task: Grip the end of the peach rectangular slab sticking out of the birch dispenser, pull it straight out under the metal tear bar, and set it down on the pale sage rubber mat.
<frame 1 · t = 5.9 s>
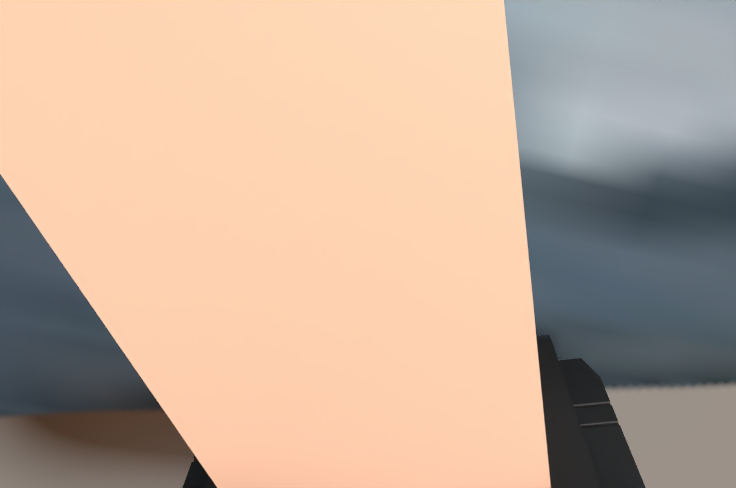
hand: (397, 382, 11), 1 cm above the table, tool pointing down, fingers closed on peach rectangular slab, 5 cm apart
peach rectangular slab: (353, 204, 10), on the table, touching gripper
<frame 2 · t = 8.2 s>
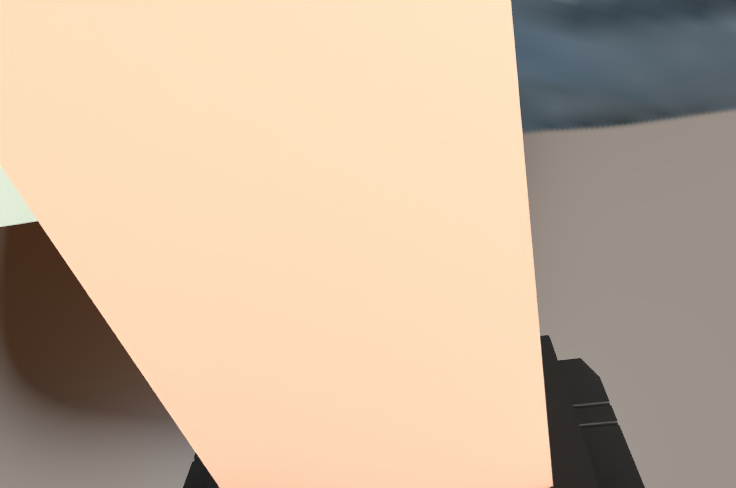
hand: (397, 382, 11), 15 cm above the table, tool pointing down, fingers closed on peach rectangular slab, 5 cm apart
peach rectangular slab: (356, 205, 10), point 14 cm above the table, touching gripper
mat: (1, 50, 23), on the table
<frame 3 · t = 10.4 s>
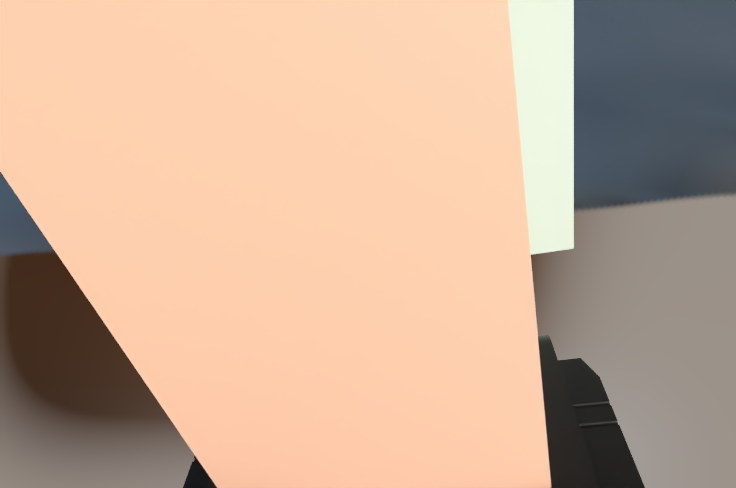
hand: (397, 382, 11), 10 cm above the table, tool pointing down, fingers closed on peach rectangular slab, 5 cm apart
peach rectangular slab: (355, 208, 10), point 9 cm above the table, touching gripper
mat: (376, 66, 17), on the table
when the fingers open (3 cm above the table, at t = 12.4 s): peach rectangular slab drops 1 cm, resting on mat.
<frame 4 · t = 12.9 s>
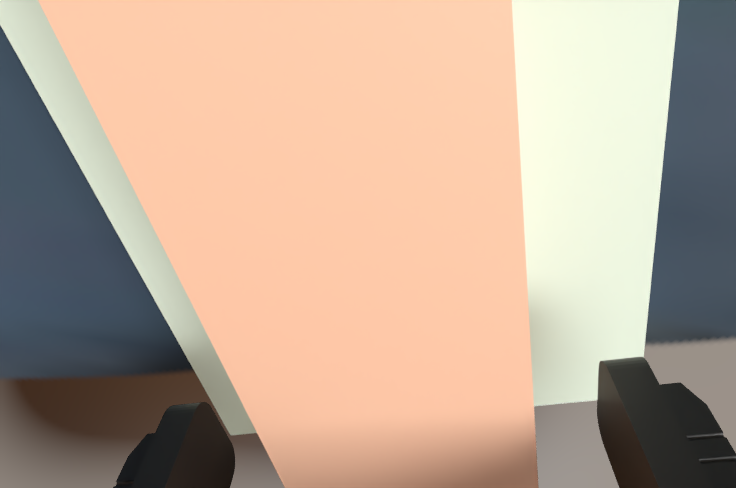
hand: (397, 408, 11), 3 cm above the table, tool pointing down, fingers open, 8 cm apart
peach rectangular slab: (368, 176, 11), point 1 cm above the table, touching mat
mat: (365, 161, 12), on the table
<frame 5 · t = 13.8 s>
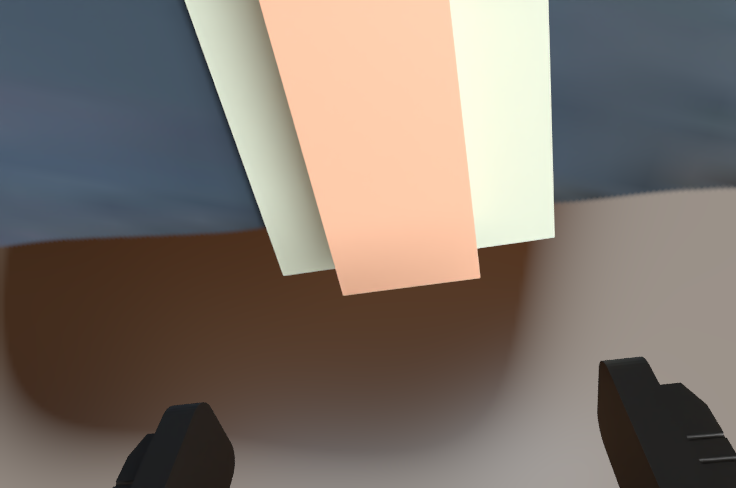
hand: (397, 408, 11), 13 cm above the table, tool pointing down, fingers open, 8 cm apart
peach rectangular slab: (380, 77, 19), point 1 cm above the table, touching mat
mat: (378, 71, 20), on the table
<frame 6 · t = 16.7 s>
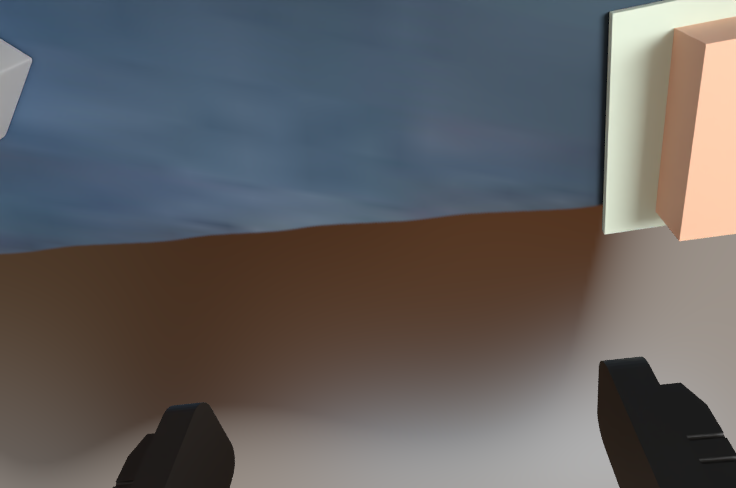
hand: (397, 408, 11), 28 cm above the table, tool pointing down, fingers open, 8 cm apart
peach rectangular slab: (704, 122, 35), point 1 cm above the table, touching mat
mat: (698, 117, 35), on the table
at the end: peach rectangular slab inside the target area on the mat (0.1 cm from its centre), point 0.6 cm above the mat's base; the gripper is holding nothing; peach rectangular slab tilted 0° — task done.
